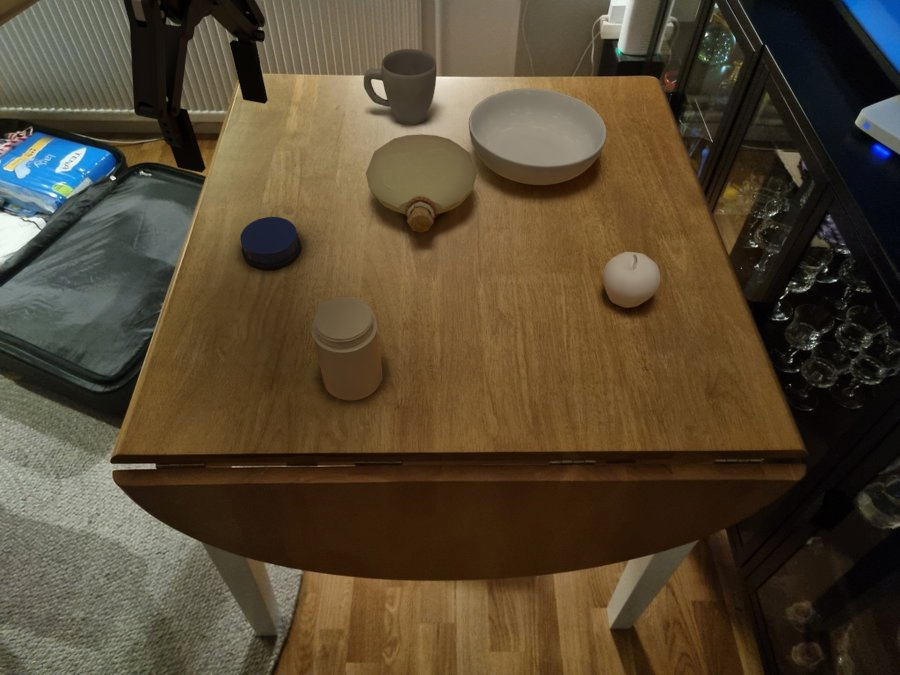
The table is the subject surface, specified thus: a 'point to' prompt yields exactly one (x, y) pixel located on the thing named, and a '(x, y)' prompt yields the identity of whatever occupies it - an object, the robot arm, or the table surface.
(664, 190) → the table surface
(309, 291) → the table surface
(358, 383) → the jar
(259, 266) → the coaster
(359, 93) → the table surface
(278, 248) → the jar lid
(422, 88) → the mug
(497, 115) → the serving bowl
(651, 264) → the apple
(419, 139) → the flask
